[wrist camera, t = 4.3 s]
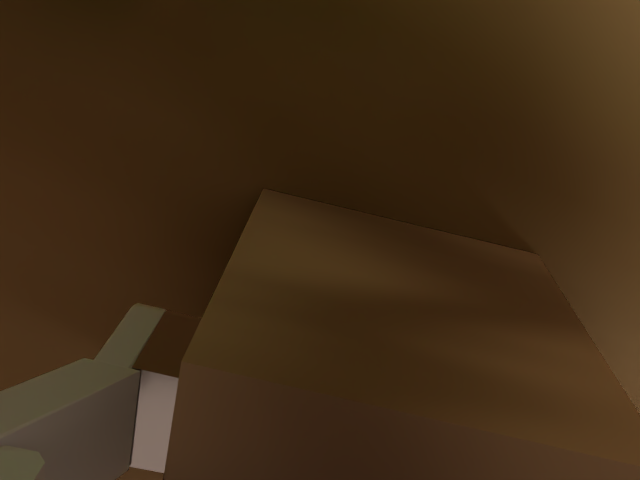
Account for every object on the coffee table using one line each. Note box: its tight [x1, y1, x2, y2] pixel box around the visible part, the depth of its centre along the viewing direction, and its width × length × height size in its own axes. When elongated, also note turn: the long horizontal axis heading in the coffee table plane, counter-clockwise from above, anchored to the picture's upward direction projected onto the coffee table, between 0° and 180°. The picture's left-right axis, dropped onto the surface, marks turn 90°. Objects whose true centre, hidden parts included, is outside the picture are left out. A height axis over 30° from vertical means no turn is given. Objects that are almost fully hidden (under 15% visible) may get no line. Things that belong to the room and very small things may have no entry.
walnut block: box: [163, 188, 640, 480], centre depth 9 cm, size 5×5×5 cm
